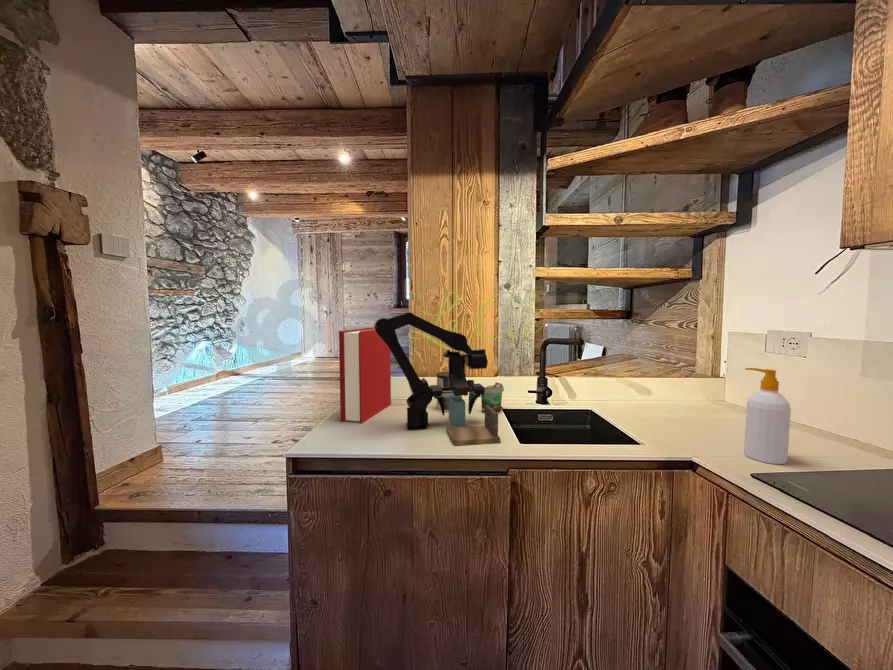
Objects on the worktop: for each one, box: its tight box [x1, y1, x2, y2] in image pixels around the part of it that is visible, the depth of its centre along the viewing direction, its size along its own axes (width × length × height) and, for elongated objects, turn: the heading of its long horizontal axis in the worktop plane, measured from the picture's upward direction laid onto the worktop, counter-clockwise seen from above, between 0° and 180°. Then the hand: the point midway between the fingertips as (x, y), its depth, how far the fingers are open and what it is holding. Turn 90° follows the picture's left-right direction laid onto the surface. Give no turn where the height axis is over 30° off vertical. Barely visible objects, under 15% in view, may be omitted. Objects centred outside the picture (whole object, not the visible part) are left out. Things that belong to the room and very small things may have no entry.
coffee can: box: [436, 371, 463, 413], centre depth 142 cm, size 10×10×14 cm
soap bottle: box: [743, 367, 792, 465], centre depth 94 cm, size 9×9×24 cm
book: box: [338, 327, 392, 424], centre depth 136 cm, size 27×8×32 cm, turn 166°
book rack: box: [446, 405, 501, 447], centre depth 110 cm, size 14×12×8 cm
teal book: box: [448, 394, 466, 427], centre depth 123 cm, size 4×11×9 cm, turn 10°
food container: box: [480, 382, 505, 414], centre depth 139 cm, size 12×6×10 cm, turn 143°
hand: (456, 414), depth 123 cm, fingers open, 9 cm apart
